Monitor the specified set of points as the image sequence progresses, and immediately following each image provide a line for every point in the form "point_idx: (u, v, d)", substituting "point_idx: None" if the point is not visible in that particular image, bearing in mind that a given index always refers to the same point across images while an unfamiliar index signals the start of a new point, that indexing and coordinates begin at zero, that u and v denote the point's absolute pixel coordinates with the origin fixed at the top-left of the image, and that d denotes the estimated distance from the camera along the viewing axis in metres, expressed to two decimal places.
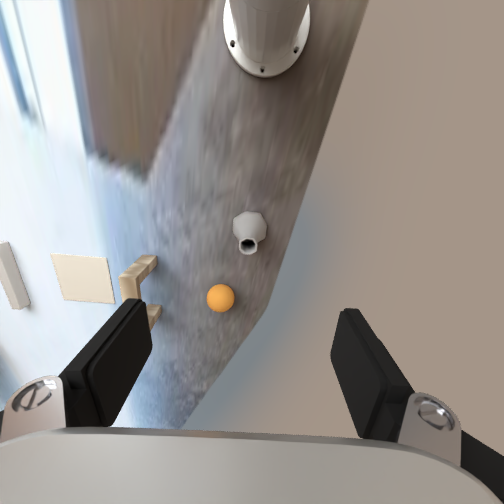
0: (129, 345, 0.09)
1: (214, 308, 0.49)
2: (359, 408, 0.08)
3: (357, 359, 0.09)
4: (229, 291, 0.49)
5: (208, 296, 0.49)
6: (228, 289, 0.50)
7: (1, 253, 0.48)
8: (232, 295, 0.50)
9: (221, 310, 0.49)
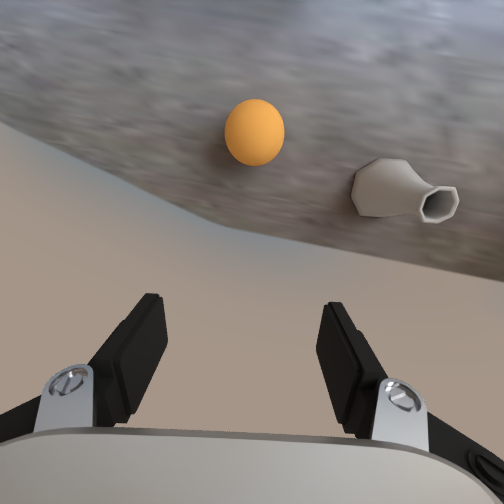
0: (149, 337, 0.10)
1: (245, 120, 0.21)
2: (338, 395, 0.09)
3: (337, 349, 0.09)
4: (274, 156, 0.24)
5: (267, 104, 0.21)
6: (277, 153, 0.24)
7: None
8: (266, 162, 0.24)
9: (240, 138, 0.21)
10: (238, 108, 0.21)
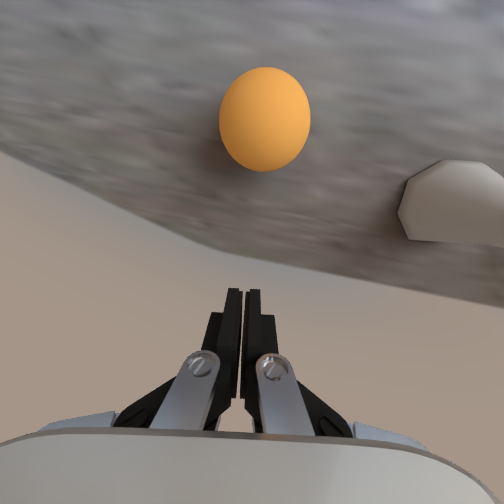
0: None
1: (251, 99, 0.13)
2: None
3: None
4: (294, 157, 0.16)
5: (285, 74, 0.13)
6: None
7: None
8: (281, 166, 0.16)
9: (242, 129, 0.13)
10: (239, 81, 0.13)
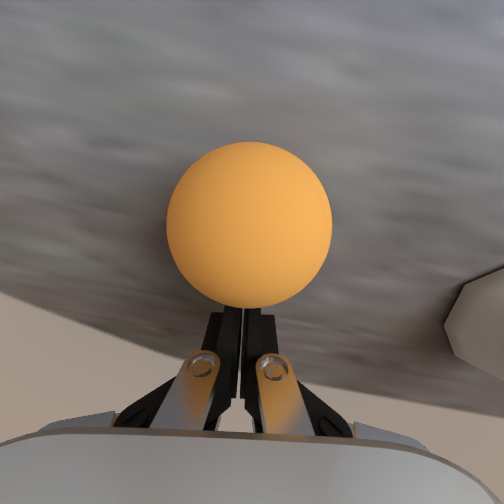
0: None
1: (218, 223, 0.06)
2: None
3: None
4: None
5: (290, 164, 0.07)
6: None
7: None
8: None
9: (202, 270, 0.07)
10: (198, 175, 0.07)
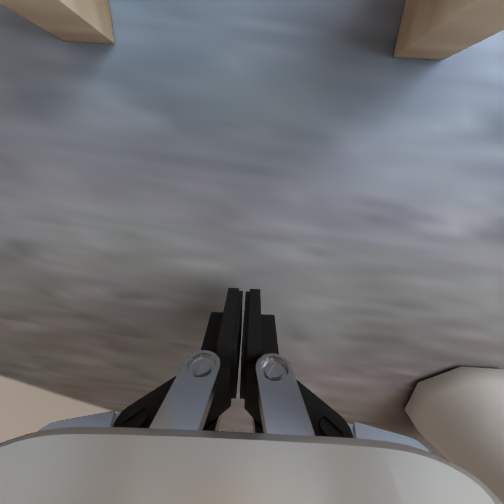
0: None
1: None
2: None
3: None
4: None
5: None
6: None
7: None
8: None
9: None
10: None
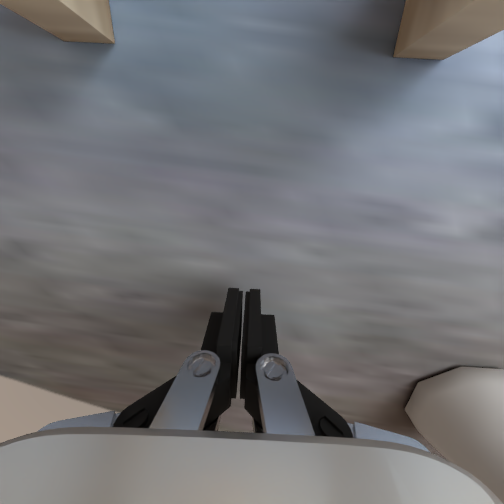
0: None
1: None
2: None
3: None
4: None
5: None
6: None
7: None
8: None
9: None
10: None
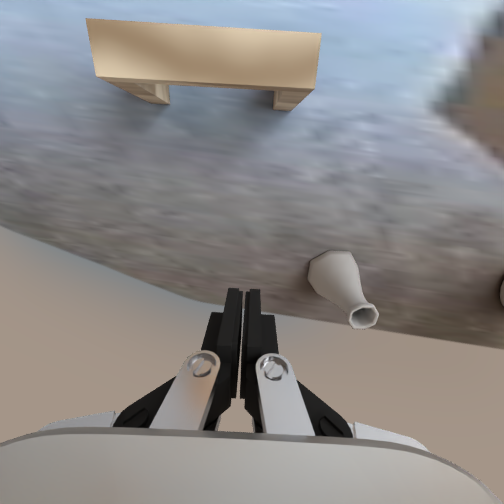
0: None
1: None
2: None
3: None
4: None
5: None
6: None
7: None
8: None
9: None
10: None
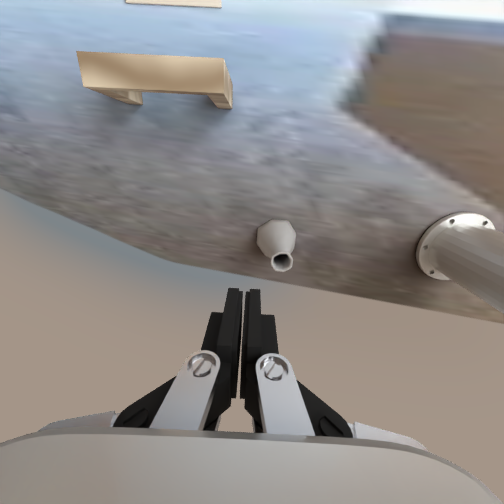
0: None
1: None
2: None
3: None
4: None
5: None
6: None
7: None
8: None
9: None
10: None
